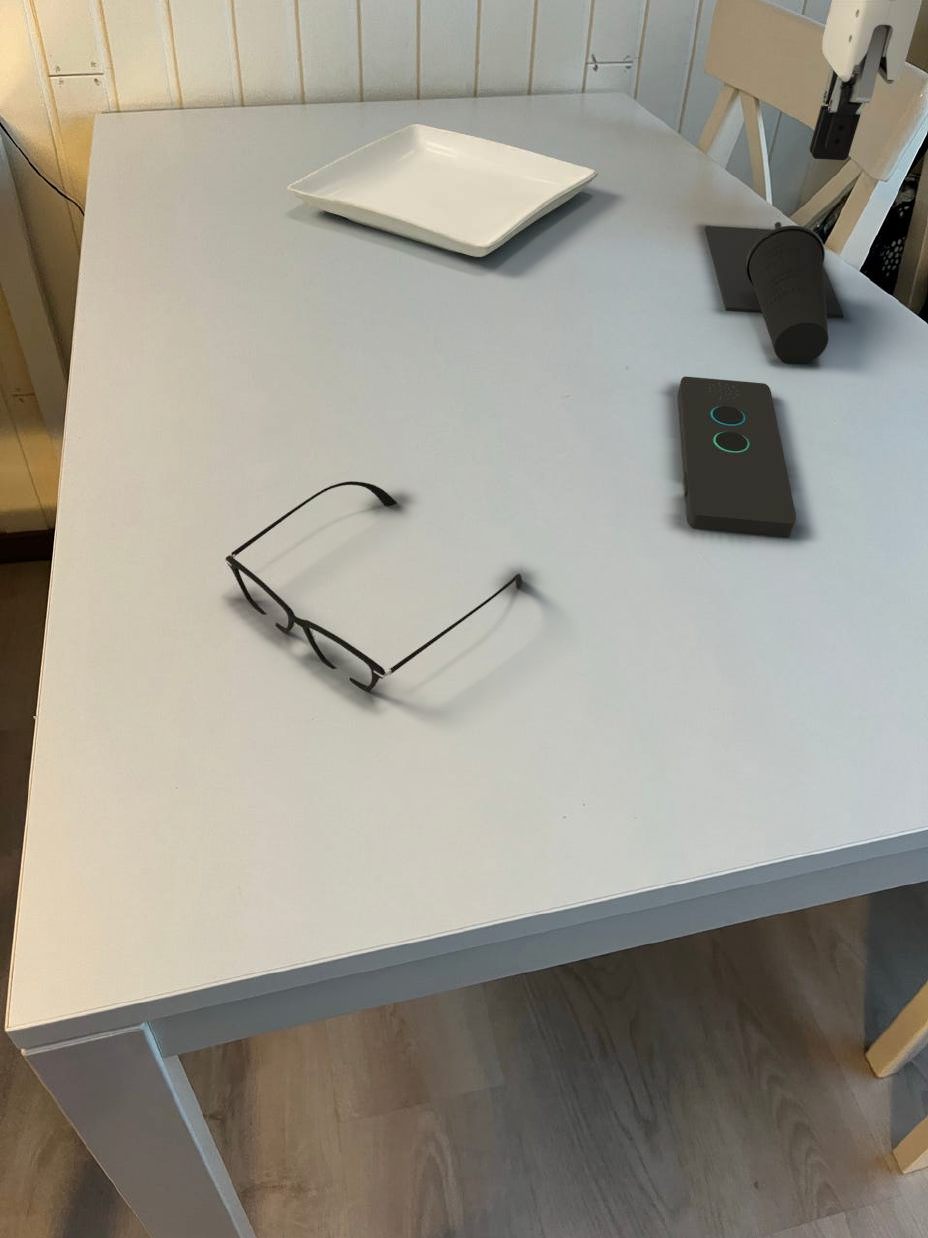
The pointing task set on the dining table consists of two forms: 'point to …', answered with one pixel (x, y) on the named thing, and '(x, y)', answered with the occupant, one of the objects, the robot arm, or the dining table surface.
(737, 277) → the mat
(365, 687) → the eyeglasses
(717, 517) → the smart home device
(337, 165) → the square plate
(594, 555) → the dining table surface
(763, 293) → the drinking cup
